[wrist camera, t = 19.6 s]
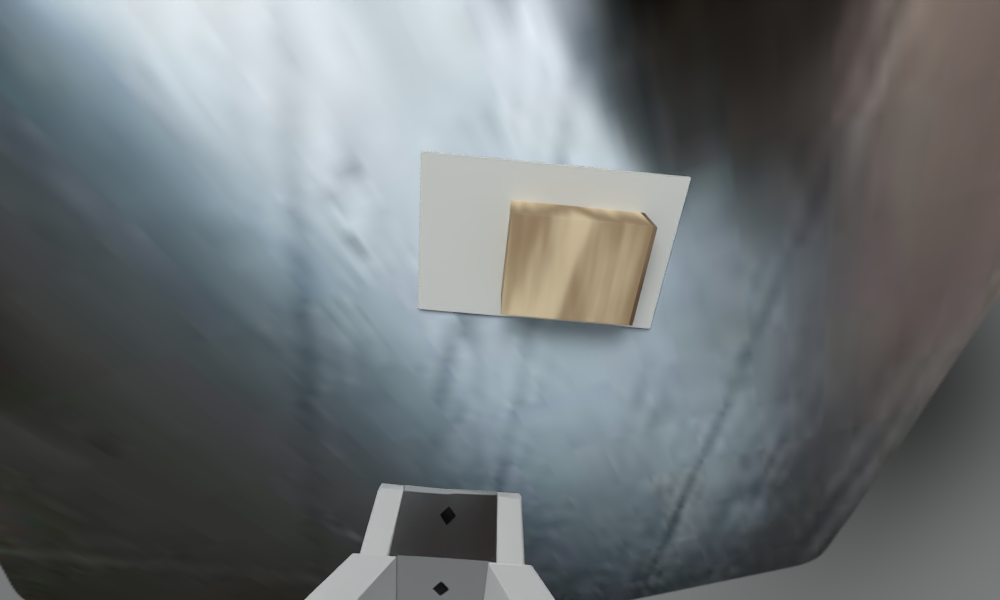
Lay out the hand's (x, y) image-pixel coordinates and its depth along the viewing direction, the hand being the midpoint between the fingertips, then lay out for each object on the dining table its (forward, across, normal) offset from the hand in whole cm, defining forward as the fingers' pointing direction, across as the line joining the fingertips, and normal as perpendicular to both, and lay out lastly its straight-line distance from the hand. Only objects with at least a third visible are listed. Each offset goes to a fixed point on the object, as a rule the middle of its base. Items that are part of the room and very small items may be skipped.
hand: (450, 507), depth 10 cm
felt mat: (+29, -5, +4) cm, 30 cm away
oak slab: (+27, -2, +5) cm, 28 cm away
